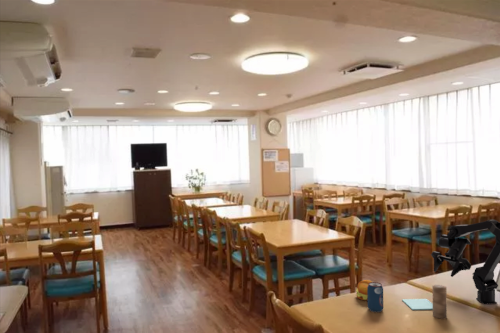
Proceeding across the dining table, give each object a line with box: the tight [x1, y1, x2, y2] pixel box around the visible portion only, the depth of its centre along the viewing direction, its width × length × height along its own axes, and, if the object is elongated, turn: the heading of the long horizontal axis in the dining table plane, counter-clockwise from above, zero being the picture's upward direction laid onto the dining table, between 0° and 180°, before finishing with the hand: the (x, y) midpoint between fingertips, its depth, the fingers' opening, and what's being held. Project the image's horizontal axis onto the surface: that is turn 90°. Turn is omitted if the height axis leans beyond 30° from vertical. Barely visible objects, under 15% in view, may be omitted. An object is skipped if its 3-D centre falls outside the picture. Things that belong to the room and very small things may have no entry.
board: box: [401, 298, 433, 311], centre depth 186 cm, size 12×12×1 cm
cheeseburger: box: [355, 279, 373, 302], centre depth 195 cm, size 10×11×10 cm
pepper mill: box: [432, 284, 448, 320], centre depth 173 cm, size 6×6×13 cm
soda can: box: [367, 281, 384, 313], centre depth 181 cm, size 7×7×12 cm
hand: (442, 273), depth 195 cm, fingers open, 9 cm apart
